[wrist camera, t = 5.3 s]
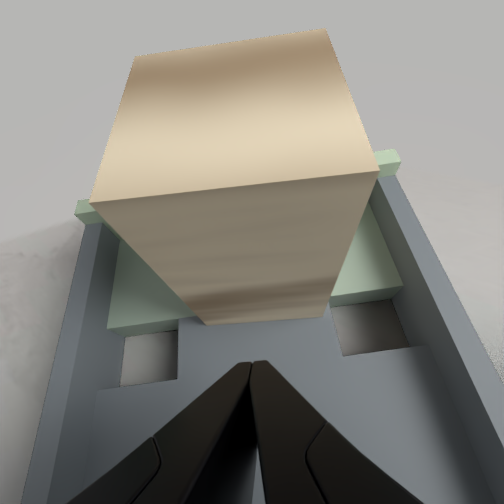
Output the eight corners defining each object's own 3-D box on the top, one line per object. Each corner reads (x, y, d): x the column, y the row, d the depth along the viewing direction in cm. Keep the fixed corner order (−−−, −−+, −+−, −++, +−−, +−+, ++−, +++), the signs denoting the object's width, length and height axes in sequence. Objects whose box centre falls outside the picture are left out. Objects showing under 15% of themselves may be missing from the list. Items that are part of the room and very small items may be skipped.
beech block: (322, 317, 14) (380, 170, 5) (206, 325, 14) (88, 202, 6) (305, 221, 17) (325, 27, 8) (209, 230, 17) (135, 56, 9)
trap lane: (534, 593, 10) (716, 730, 6) (66, 642, 11) (-81, 797, 7) (370, 206, 19) (394, 148, 15) (122, 245, 20) (77, 200, 16)
